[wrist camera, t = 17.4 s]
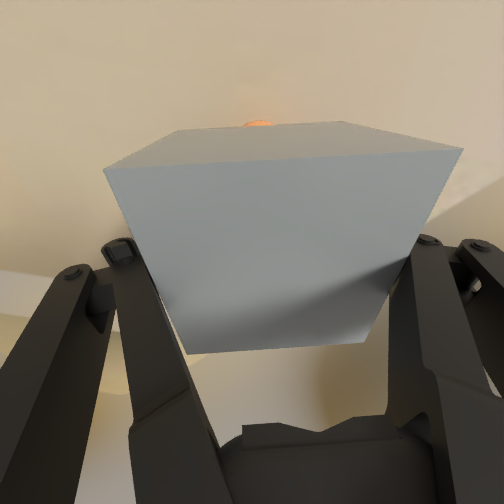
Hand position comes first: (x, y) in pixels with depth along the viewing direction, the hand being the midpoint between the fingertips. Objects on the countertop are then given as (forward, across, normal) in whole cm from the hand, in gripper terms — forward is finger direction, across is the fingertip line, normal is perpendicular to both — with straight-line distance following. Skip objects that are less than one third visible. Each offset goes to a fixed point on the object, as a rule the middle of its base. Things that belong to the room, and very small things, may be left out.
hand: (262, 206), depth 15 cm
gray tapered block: (+1, 0, 0) cm, 1 cm away
